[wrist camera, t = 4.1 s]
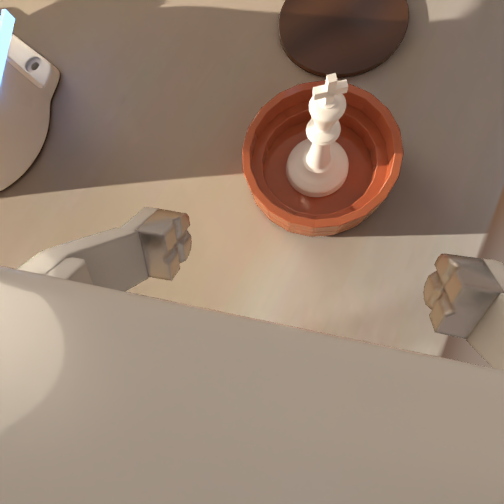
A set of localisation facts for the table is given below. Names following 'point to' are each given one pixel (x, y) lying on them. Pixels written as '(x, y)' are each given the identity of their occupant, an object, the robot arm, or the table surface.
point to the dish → (351, 139)
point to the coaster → (341, 34)
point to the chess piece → (321, 144)
